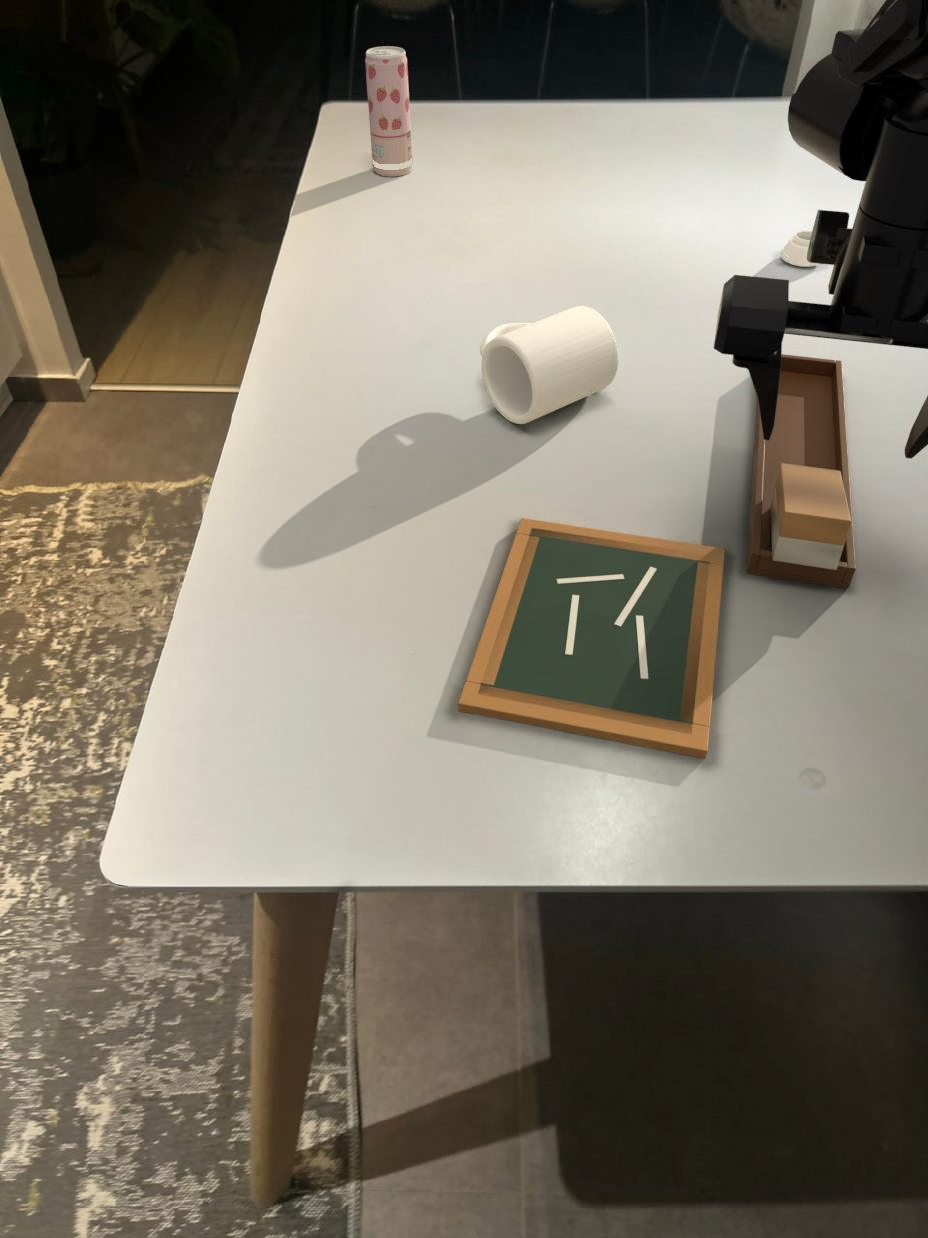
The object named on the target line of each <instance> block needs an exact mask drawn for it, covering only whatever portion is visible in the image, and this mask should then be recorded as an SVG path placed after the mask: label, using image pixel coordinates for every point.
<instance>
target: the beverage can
mask: <svg viewBox="0 0 928 1238" xmlns="http://www.w3.org/2000/svg"><path fill="white" fill-rule="evenodd" d="M406 52H407V51H406V50H405V49H404V48H403V47H399V46H394V45H393V46H391V45H385V46H384V45H383V46H376V47H371V48H368V49H367V50H366V52H365V59H364V65H365V79H366V92H367V106H368V120H369V121H368V122H369V132H370V147H371V160H372V159H373V160H374V161H375V162H377V163H379V164H400V163H404V162H406V161H409V160H410V159H411V158H412V159H413V150H412V149H413V147H412V132H411V131H412V128H411V110H410V108H411V107H410V90H409V70H408V69H409V68H408V58H407V55H406ZM413 167H414V166H413V163H412V164H411V166H409V167H407V168H404V169H399V170H383V169H379V168H376V167H374V166H373V165H372V170H373V171H374V172H375V173H376V174H377V175H378V176H381V177H387V178H388V177H394V178H395V177H401V176H402V177H403V176H405V175H407V174H409V173H410V172H411V171H412V170H413Z"/></svg>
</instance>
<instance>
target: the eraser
mask: <svg viewBox="0 0 928 1238" xmlns="http://www.w3.org/2000/svg"><path fill="white" fill-rule="evenodd" d="M770 521H771V539H772V557H773V561H780V562H786V563H793V564H800V565H806V566H813V567H819V568H826V569H832V570H837V567H838V564H839V560H840V557H841V554H842V550H843V547H844V544H845V541H846V537H847V534H848V531H849V527H850V524H851V518H850V513H849V508H848V504H847V499H846V495H845V490H844V486H843V481H842V476H841V472H840V471H837V470H830V469H822V468H815V467H807V466H800V465H792V464H785V463H781V465H780V469H779V473H778V477H777V481H776V485H775V489H774V493H773V497H772V501H771V505H770Z"/></svg>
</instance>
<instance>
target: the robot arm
mask: <svg viewBox="0 0 928 1238" xmlns="http://www.w3.org/2000/svg"><path fill="white" fill-rule="evenodd" d="M787 110H788V111H787V127H788V131H789V133H790V136H791V138H792V140H793V141H794V142H795V143H796V145H797V146H798V147H799V148H802V149H803V150H805V152H808V153H809V154H811V155H812V156H814V157H816V158H817V159H819V160H820V161H822V162H823V163H825V164H827V165H828V166H830V167H831V168H833V169H834V170H835V171H837V172H839V173H841V174H842V175H844V176H846V177H847V178H848V179H850V180H852V181H858V182H865V183H864V186H863V189H862V193H861V198H860V200H859V203H858V207H857V211H856V214H855V218H854V222H853V225H852V228H849V222H850V213H849V212H847V211H839V210H838V211H837V210H826V209H825V210H824V209H818V210H817V212H816V216H815V220H814V224H813V227H812V230H811V231H812V234H811V239H810V243H809V248H808V252H807V261H808V262H810V263H819V265H821V264H822V265H830V266H833V267H832V271H831V275H830V278H829V282H828V285H827V287H828V288H827V289H828V295H833V296H832V299H831V302H830V304H824V303H816V302H815V303H814V302H804V301H794V300H789V298H790V297H789V291H790V289H789V288H790V286H789V285H790V280H789V279H784V278H783V279H782V278H773V277H772V278H771V277H762V276H753V275H752V276H751V275H750V276H749V275H741V274H739V275H738V274H734V275H733V276H731V278H729V279H728V280H727V281H726V282H724V283H723V287H722V290H721V291H722V292H721V297H720V301H719V308H718V312H717V319H716V320H717V321H716V327H715V334H714V343H713V349H714V351H717V352H718V353H720V354H722V355H729V356H732V365H734V366H736V367H737V368H741V369H746V370H747V371H748V373H749V376H750V379H751V382H752V385H753V388H754V390H755V391H754V392H755V394H756V399H757V398H758V403H759V409H760V417H761V424H762V431H763V439H764V440H770V437H771V434H772V431H773V428H774V423H775V415H776V406H777V398H778V389H779V380H780V372H781V356H782V354H783V351H782V350H783V347H782V346H783V340H784V337H785V335H792V336H803V337H812V338H822V339H831V340H841V341H848V342H849V341H850V342H859V343H860V342H861V343H869V344H876V345H877V344H878V345H885V346H886V345H887V346H894V347H895V346H897V347H905V348H913V349H914V348H915V349H924V350H928V0H884V2H883V3H882V5H881V6H880V8H879V9H878V11H877V12H876V13H875V15H874V16H873V17H872V18H871V20H870V22H869V23H868V24H867V26H866V27H865V28H859V29H847V30H838V31H837V32H836V33H835V35H834V40H833V44H832V48H831V53H829V54H827V55H826V56H824V57H823V58H822V59H820V60H818V61H817V62H816V63H815V64H814V65H813V66H812V67H811V68H810V69H809V70H808V71H807V73H806V74H805V76H804V77H803V78H802V80H801V81H800V82H799V84H798V86H797V88H796V90H795V92H794V93H793V94H792V96H791V97H790V100H789V105H788V109H787ZM927 446H928V395H926V398H925V400H924V402H923V404H922V406H921V408H920V410H919V412H918V414H917V417H916V418H915V420H914V423H913V424H912V426H911V429H910V431H909V435H908V438H907V441H906V443H905V447H904V457H905V458H906V459H913V458H914V457H915V456H917V455H918V454H919V453H920V452H921V451H923V450H924V449H925V448H926V447H927Z"/></svg>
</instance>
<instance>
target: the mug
mask: <svg viewBox="0 0 928 1238" xmlns="http://www.w3.org/2000/svg"><path fill="white" fill-rule="evenodd" d="M479 354H480V356H481V375H482V381H483V384H484V388H485V390H486V392H487V393H486V394H487V395H488V397H489V400H490V401H491V403H492V404H493V406H494V407H495V409H496V410H497V412H499V414H501V416H502V417H504V418H505V419H506V420H508V421H509V422H510V423H513V424H517V425H525V424H528V423H530V422H532V421H535V420H537V419H539V418H542V417H543V416H546V415H548V414H551V413H553V412H555V411H557V410H559V409H562V408H564V407H566V406H568V405H571V404H573V403H575V402H577V401H579V400H582V399H584V398H586V397H588V396H591V395H594V394H595V393H599V392H600V391H602V390H604V389H606V388H608V386H610V385H611V384H612V382H613V381H614V379H615V377H616V376H617V372H618V368H619V350H618V344H617V341H616V338H615V335H614V332H613V330H612V328H611V327H610V325H609V323H608V322H607V320H606V319H605V318H604V317H603V316H602V315H601V313H599V312H598V311H597V310H595V309H593V308H591V307H589V306H585V305H577V306H573V307H571V308H568V309H565V310H563V311H560V312H558V313H555V314H552V315H549V316H548V317H545V318H541V319H539V320H537V321H535V322H534V321H533V322H532V323H528V322H512V323H511V322H510V323H504V324H501V325H499V326H496V327H494V328H493V329H491V330H490V331H489V332H488V333H487V334H486V335H485V336H484V337H483V339H482V341H481V342H480V346H479Z"/></svg>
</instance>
